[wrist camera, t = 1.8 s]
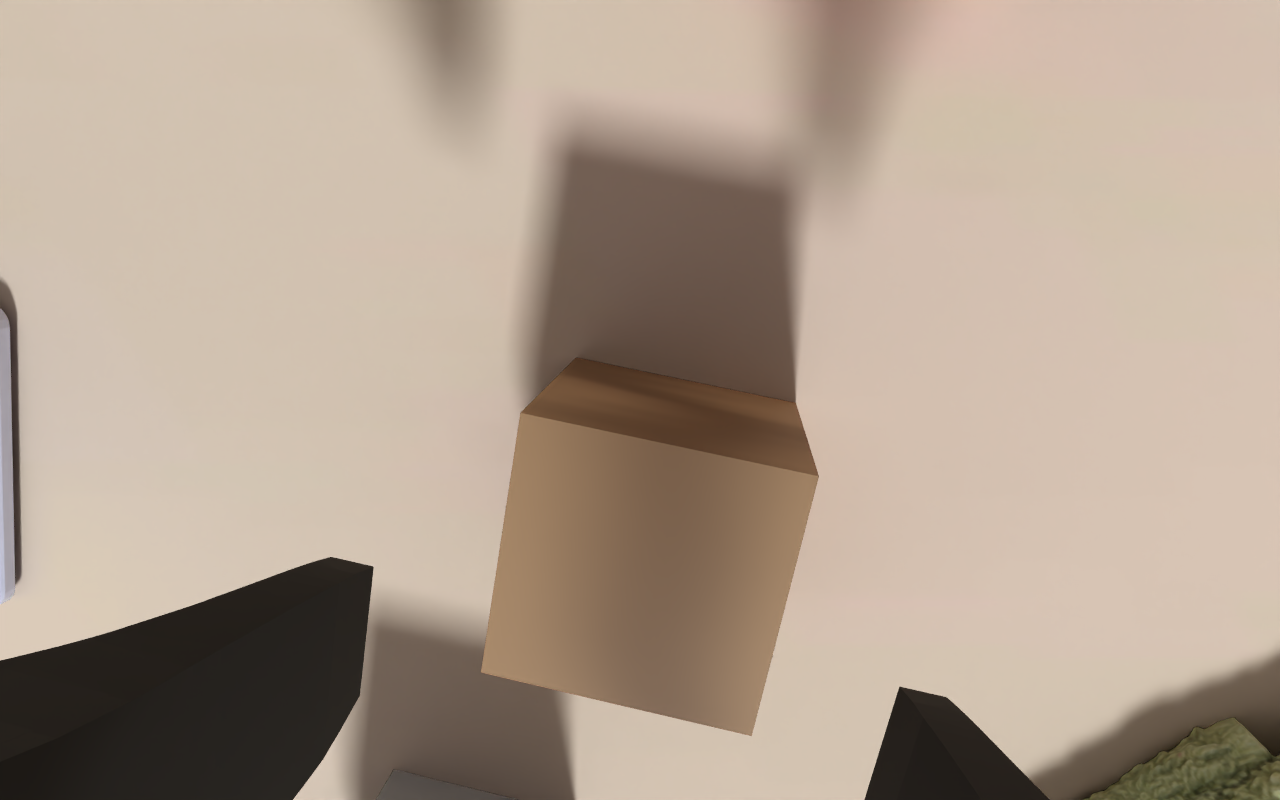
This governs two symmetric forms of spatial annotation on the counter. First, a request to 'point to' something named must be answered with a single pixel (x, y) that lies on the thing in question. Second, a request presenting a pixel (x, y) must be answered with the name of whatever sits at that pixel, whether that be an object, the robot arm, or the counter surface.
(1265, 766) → the washcloth
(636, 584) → the walnut block
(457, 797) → the slate grey block
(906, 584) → the counter surface
